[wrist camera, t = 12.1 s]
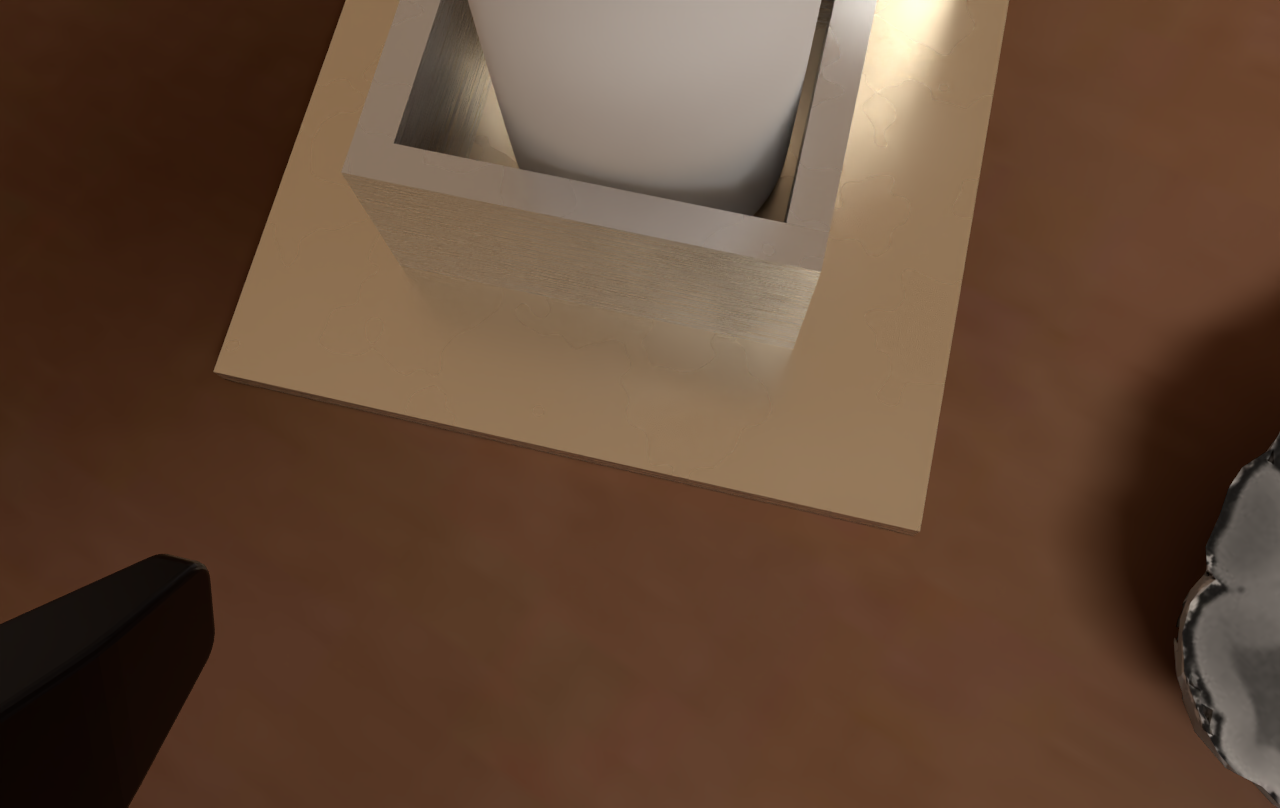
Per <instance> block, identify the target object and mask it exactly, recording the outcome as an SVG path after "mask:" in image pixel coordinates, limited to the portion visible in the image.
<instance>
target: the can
mask: <svg viewBox="0 0 1280 808" xmlns="http://www.w3.org/2000/svg"><path fill="white" fill-rule="evenodd" d="M468 3H469V6H470V10H471V13H472V17H473V20H474V23H475V27H476V30H477V33H478V37H479V40H480V44H481V47H482V50H483V54H484V57H485V60H486V64H487V67H488V70H489V74H490V77H491V80H492V84H493V87H494V90H495V94H496V97H497V100H498V103H499V107H500V110H501V113H502V117H503V120H504V123H505V126H506V130H507V133H508V136H509V139H510V142H511V145H512V149H513V152H514V155H515V158H516V161H517V163H518V166H519V169H522V170H527V171H532V172H537V173H542V174H547V175H552V176H557V177H561V178H566V179H571V180H576V181H581V182H586V183H591V184H596V185H601V186H606V187H611V188H616V189H621V190H626V191H630V192H635V193H640V194H645V195H650V196H655V197H660V198H665V199H670V200H675V201H680V202H685V203H690V204H695V205H699V206H704V207H709V208H714V209H719V210H724V211H729V212H734V213H739V214H744V215H749V216H753V215H754V214H755V213H756V212H757V211H758V210H759V209H760V207H761V206H762V205H763V204H764V202H765V201H766V200H767V198H768V197H769V195H770V194H771V192H772V190H773V189H774V187H775V185H776V183H777V181H778V179H779V176H780V174H781V171H782V169H783V166H784V163H785V159H786V156H787V152H788V148H789V144H790V140H791V136H792V132H793V127H794V123H795V119H796V114H797V110H798V105H799V101H800V96H801V92H802V87H803V83H804V78H805V74H806V69H807V64H808V60H809V55H810V51H811V46H812V41H813V37H814V32H815V28H816V23H817V18H818V14H819V9H820V5H821V0H468Z"/></svg>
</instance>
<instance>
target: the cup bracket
mask: <svg viewBox="0 0 1280 808" xmlns="http://www.w3.org/2000/svg"><path fill="white" fill-rule="evenodd" d="M1008 3H1009V0H821V5H820V9H819V14H818V18H817V23H816V28H815V32H814V37H813V41H812V46H811V51H810V55H809V60H808V64H807V69H806V74H805V78H804V83H803V87H802V92H801V96H800V101H799V105H798V110H797V114H796V119H795V123H794V127H793V132H792V136H791V140H790V144H789V148H788V152H787V156H786V159H785V163H784V166H783V169H782V171H781V174H780V176H779V179H778V181H777V183H776V185H775V187H774V189H773V190H772V192H771V194H770V195H769V197H768V198H767V200H766V201H765V202H764V204H763V205H762V206H761V207H760V209H759V210H758V211H757V212H756V213H755V214H754V215H753V216H749V215H744V214H739V213H734V212H729V211H724V210H719V209H714V208H709V207H704V206H699V205H695V204H690V203H685V202H680V201H675V200H670V199H665V198H660V197H655V196H650V195H645V194H640V193H635V192H630V191H626V190H621V189H616V188H611V187H606V186H601V185H596V184H591V183H586V182H581V181H576V180H571V179H566V178H561V177H557V176H552V175H547V174H542V173H537V172H532V171H527V170H522V169H519V166H518V163H517V161H516V158H515V155H514V152H513V149H512V145H511V142H510V139H509V136H508V133H507V130H506V126H505V123H504V120H503V117H502V113H501V110H500V107H499V103H498V100H497V97H496V94H495V90H494V87H493V84H492V80H491V77H490V74H489V70H488V67H487V64H486V60H485V57H484V54H483V50H482V47H481V44H480V40H479V37H478V33H477V30H476V27H475V23H474V20H473V17H472V13H471V10H470V6H469V3H468V0H346V1H345V4H344V7H343V10H342V13H341V15H340V18H339V21H338V24H337V27H336V29H335V32H334V35H333V38H332V41H331V43H330V46H329V49H328V52H327V55H326V57H325V60H324V63H323V66H322V69H321V71H320V74H319V77H318V80H317V83H316V85H315V88H314V91H313V94H312V97H311V99H310V102H309V105H308V108H307V111H306V113H305V116H304V119H303V122H302V125H301V127H300V130H299V133H298V136H297V139H296V141H295V144H294V147H293V150H292V153H291V155H290V158H289V161H288V164H287V167H286V169H285V172H284V175H283V178H282V181H281V183H280V186H279V189H278V192H277V195H276V197H275V200H274V203H273V206H272V209H271V211H270V214H269V217H268V220H267V223H266V226H265V228H264V231H263V234H262V237H261V240H260V242H259V245H258V248H257V251H256V254H255V256H254V259H253V262H252V265H251V268H250V270H249V273H248V276H247V279H246V282H245V284H244V287H243V290H242V293H241V296H240V298H239V301H238V304H237V307H236V310H235V312H234V315H233V318H232V321H231V324H230V326H229V329H228V332H227V335H226V338H225V340H224V343H223V346H222V349H221V352H220V354H219V357H218V360H217V363H216V366H215V368H214V371H213V372H215V373H216V374H217V375H219V376H220V377H222V378H223V379H225V380H230V381H234V382H239V383H243V384H247V385H252V386H256V387H261V388H265V389H269V390H274V391H278V392H283V393H287V394H292V395H296V396H300V397H305V398H309V399H314V400H318V401H322V402H327V403H331V404H336V405H340V406H344V407H349V408H353V409H358V410H362V411H366V412H371V413H375V414H380V415H384V416H388V417H393V418H397V419H402V420H406V421H411V422H415V423H419V424H424V425H428V426H433V427H437V428H441V429H446V430H450V431H455V432H459V433H463V434H468V435H472V436H477V437H481V438H485V439H490V440H494V441H499V442H503V443H508V444H512V445H516V446H521V447H525V448H530V449H534V450H538V451H543V452H547V453H552V454H556V455H560V456H565V457H569V458H574V459H578V460H582V461H587V462H591V463H596V464H600V465H605V466H609V467H613V468H618V469H622V470H627V471H631V472H635V473H640V474H644V475H649V476H653V477H657V478H662V479H666V480H671V481H675V482H679V483H684V484H688V485H693V486H697V487H701V488H706V489H710V490H715V491H719V492H724V493H728V494H732V495H737V496H741V497H746V498H750V499H754V500H759V501H763V502H768V503H772V504H776V505H781V506H785V507H790V508H794V509H798V510H803V511H807V512H812V513H816V514H821V515H825V516H829V517H834V518H838V519H843V520H847V521H851V522H856V523H860V524H865V525H869V526H873V527H878V528H882V529H887V530H891V531H895V532H900V533H904V534H909V535H913V536H914V535H915V534H917V533H918V532H920V528H921V522H922V516H923V510H924V504H925V498H926V492H927V487H928V481H929V475H930V469H931V463H932V457H933V451H934V445H935V439H936V433H937V427H938V421H939V415H940V409H941V403H942V397H943V391H944V385H945V379H946V373H947V367H948V361H949V355H950V349H951V343H952V337H953V331H954V325H955V319H956V313H957V307H958V302H959V296H960V290H961V284H962V278H963V272H964V266H965V260H966V254H967V248H968V242H969V236H970V230H971V224H972V218H973V212H974V206H975V200H976V194H977V188H978V182H979V176H980V170H981V164H982V158H983V152H984V146H985V140H986V134H987V128H988V122H989V117H990V111H991V105H992V99H993V93H994V87H995V81H996V75H997V69H998V63H999V57H1000V51H1001V45H1002V39H1003V33H1004V27H1005V21H1006V15H1007V9H1008Z"/></svg>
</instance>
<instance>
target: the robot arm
mask: <svg viewBox="0 0 1280 808" xmlns="http://www.w3.org/2000/svg"><path fill="white" fill-rule="evenodd" d="M214 635H215V628H214V617H213V606H212V594H211V583H210V575H209V571H208V570H207V568H206V566H205V565H204V564H202V563H200V562H198V561H194V560H190V559H186V558H182V557H177V556H173V555H169V554H158V555H154V556H151V557H149V558H147V559H144V560H142V561H140V562H138V563H135V564H133V565H131V566H129V567H127V568H124V569H122V570H120V571H118V572H115V573H113V574H111V575H109V576H107V577H104V578H102V579H100V580H98V581H95V582H93V583H91V584H89V585H87V586H84V587H82V588H80V589H78V590H75V591H73V592H71V593H69V594H67V595H64V596H62V597H60V598H58V599H55V600H53V601H51V602H49V603H47V604H44V605H42V606H40V607H38V608H35V609H33V610H31V611H29V612H26V613H24V614H22V615H20V616H18V617H15V618H13V619H11V620H9V621H6V622H4V623H2V624H0V808H128V806H129V805H130V803H131V801H132V799H133V798H134V796H135V794H136V792H137V791H138V789H139V787H140V785H141V783H142V781H143V780H144V778H145V776H146V774H147V772H148V770H149V768H150V766H151V765H152V763H153V761H154V759H155V757H156V755H157V753H158V752H159V750H160V748H161V746H162V744H163V742H164V740H165V738H166V737H167V735H168V733H169V731H170V729H171V727H172V725H173V723H174V722H175V720H176V718H177V716H178V714H179V712H180V710H181V709H182V707H183V705H184V703H185V701H186V699H187V697H188V695H189V694H190V692H191V690H192V688H193V686H194V684H195V682H196V680H197V679H198V677H199V675H200V673H201V671H202V669H203V667H204V666H205V664H206V662H207V660H208V658H209V655H210V653H211V650H212V646H213V642H214Z"/></svg>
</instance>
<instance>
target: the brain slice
mask: <svg viewBox="0 0 1280 808" xmlns="http://www.w3.org/2000/svg"><path fill="white" fill-rule="evenodd" d="M1206 564H1207V567H1206V572H1205V573H1204V575H1203V576H1202V577H1201V578H1200V579H1199V581H1198V582H1197V583H1196V584H1195V585H1194V586H1193V587H1192V589H1191V590H1190V591H1189V593H1188V595H1187V596H1186V598H1185V600H1184V602H1183V610H1182V611H1183V612H1181V613H1182V615H1181V614H1180V616H1181V618H1180V616H1179V618H1180V619H1179V618H1178V621H1177V626H1176V627H1179V632H1178V637H1177V640H1178V643H1177V640H1175V638H1174V652H1175V664H1176V674H1177V679H1178V681H1179V684H1180V688H1181V691H1182V694H1183V697H1182V699H1183V702H1184V705H1185V708H1186V710H1187V713H1188V715H1189V718H1190V720H1191V723H1192V726H1193V729H1194V731H1195V733H1196V734H1197V735H1198V736H1199V737H1200V738H1201V740H1202V741H1203V742H1204V743H1205V744H1206V745H1207V747H1208V748H1209V749H1210V750H1211V751H1212V753H1213V754H1214V755H1215V756H1216V757H1217V758H1218V760H1219V761H1220V762H1221V763H1222V764H1223V765H1224V767H1225V768H1227V769H1229V770H1231V771H1233V772H1234V773H1236V774H1238V775H1240V776H1242V777H1244V778H1246V779H1248V780H1250V781H1252V782H1253V783H1254V784H1255V786H1256V787H1257V788H1258V789H1259V790H1260V791H1261V792H1262V793H1263V794H1264V795H1265V797H1266V798H1267V799H1268V800H1269V801H1270V802H1271V803H1272V804H1273V805H1275V806H1277V807H1278V808H1280V433H1279V435H1278V436H1277V438H1276V439H1275V440H1274V442H1273V443H1272V444H1271V446H1270V447H1269V449H1268V450H1267V451H1266V452H1265V453H1264V454H1262V455H1261V456H1259V457H1258V458H1256V459H1255V460H1253V461H1251V462H1250V463H1248V464H1247V465H1245V466H1244V467H1242V468H1241V470H1240V471H1239V473H1238V475H1237V476H1236V478H1235V479H1234V481H1233V482H1232V484H1231V485H1230V487H1229V489H1228V492H1227V495H1226V498H1225V501H1224V504H1223V507H1222V510H1221V513H1220V515H1219V518H1218V520H1217V522H1216V524H1215V527H1214V529H1213V531H1212V533H1211V536H1210V538H1209V540H1208V542H1207V545H1206Z"/></svg>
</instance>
